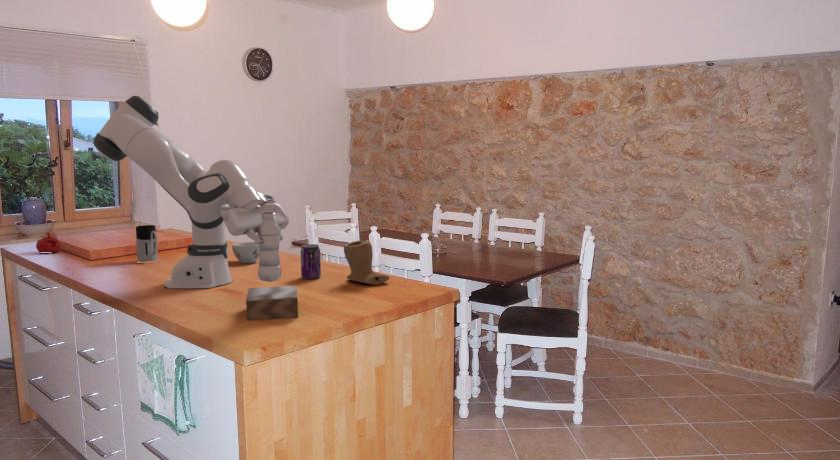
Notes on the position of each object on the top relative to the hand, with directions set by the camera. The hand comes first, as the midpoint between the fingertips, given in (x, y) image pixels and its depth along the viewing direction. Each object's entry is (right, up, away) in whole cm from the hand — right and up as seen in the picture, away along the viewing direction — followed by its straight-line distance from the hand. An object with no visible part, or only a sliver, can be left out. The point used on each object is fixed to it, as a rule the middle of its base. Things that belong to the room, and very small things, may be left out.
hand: (270, 241), depth 176 cm
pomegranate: (-126, -7, +104) cm, 163 cm away
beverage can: (+3, -15, +50) cm, 52 cm away
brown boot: (+23, -16, +42) cm, 50 cm away
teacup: (-30, -10, +80) cm, 86 cm away
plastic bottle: (-1, -12, +2) cm, 12 cm away
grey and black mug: (-70, -11, +80) cm, 106 cm away
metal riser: (0, -21, +3) cm, 21 cm away
